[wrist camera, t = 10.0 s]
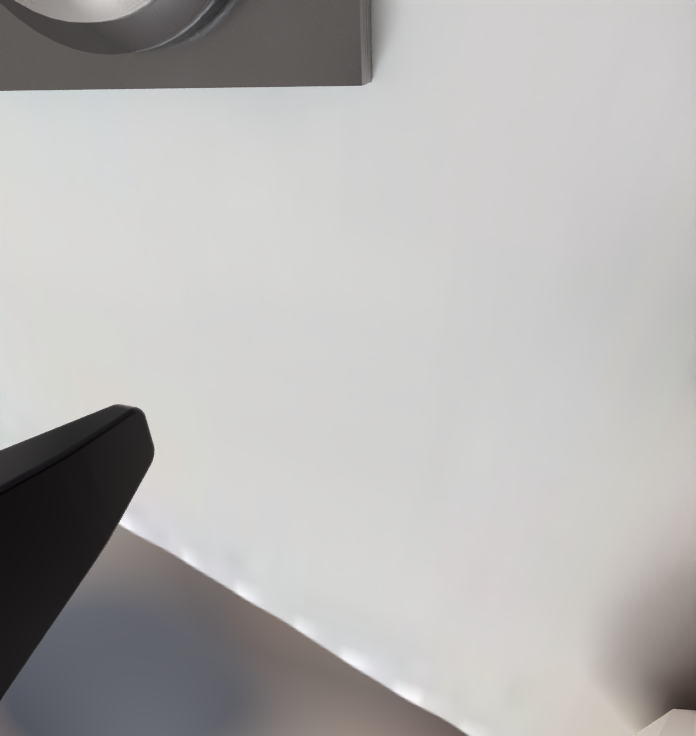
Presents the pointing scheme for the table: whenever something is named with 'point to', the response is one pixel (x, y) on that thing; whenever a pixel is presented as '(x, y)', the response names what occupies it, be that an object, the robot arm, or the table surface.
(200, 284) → the table surface
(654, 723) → the geodesic sphere
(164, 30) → the base
